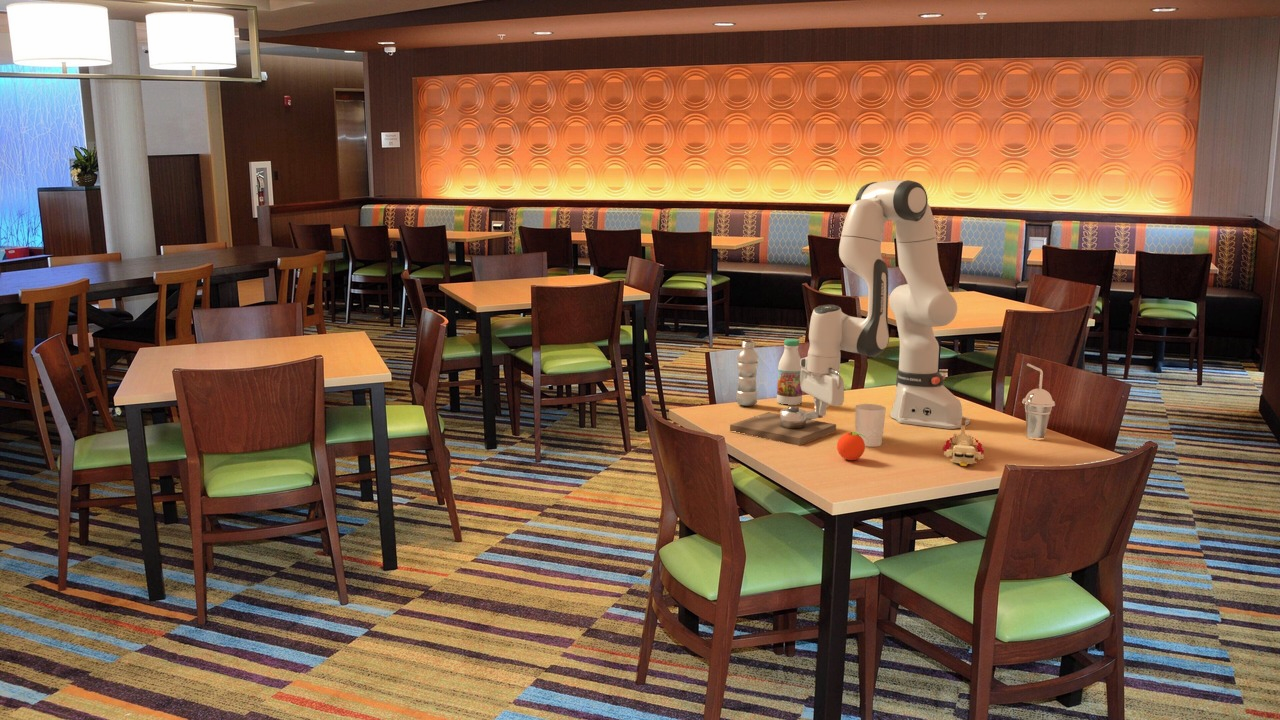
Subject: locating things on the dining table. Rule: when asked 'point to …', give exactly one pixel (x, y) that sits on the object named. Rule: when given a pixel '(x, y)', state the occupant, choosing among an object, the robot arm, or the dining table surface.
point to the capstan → (796, 417)
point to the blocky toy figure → (963, 448)
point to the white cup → (870, 423)
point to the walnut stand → (782, 429)
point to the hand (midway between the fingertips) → (820, 414)
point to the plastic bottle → (747, 375)
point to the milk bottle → (789, 374)
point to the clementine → (851, 446)
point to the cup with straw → (1037, 409)
